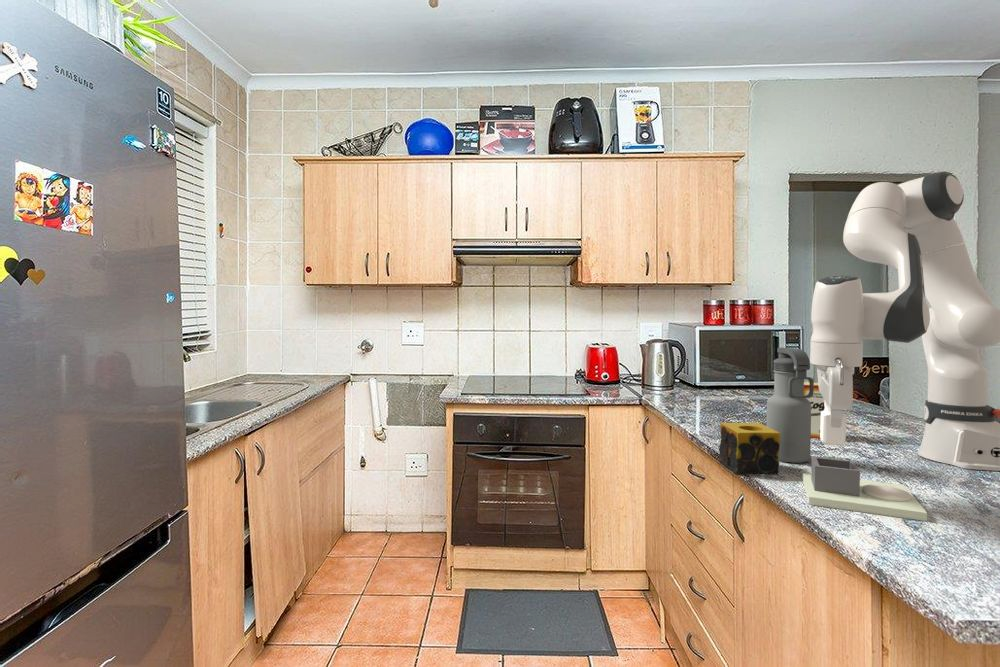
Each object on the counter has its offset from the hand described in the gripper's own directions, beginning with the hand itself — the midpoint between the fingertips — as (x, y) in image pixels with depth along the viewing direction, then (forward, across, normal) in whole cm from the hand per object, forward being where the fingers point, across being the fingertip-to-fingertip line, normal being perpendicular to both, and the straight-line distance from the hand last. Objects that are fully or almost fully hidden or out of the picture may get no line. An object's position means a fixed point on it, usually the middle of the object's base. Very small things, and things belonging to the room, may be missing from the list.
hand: (833, 424), depth 102 cm
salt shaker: (+4, 0, 0) cm, 4 cm away
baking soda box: (+15, +54, -2) cm, 56 cm away
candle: (+15, +12, +16) cm, 25 cm away
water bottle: (+15, +25, +7) cm, 30 cm away
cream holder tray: (+14, 0, -4) cm, 15 cm away
